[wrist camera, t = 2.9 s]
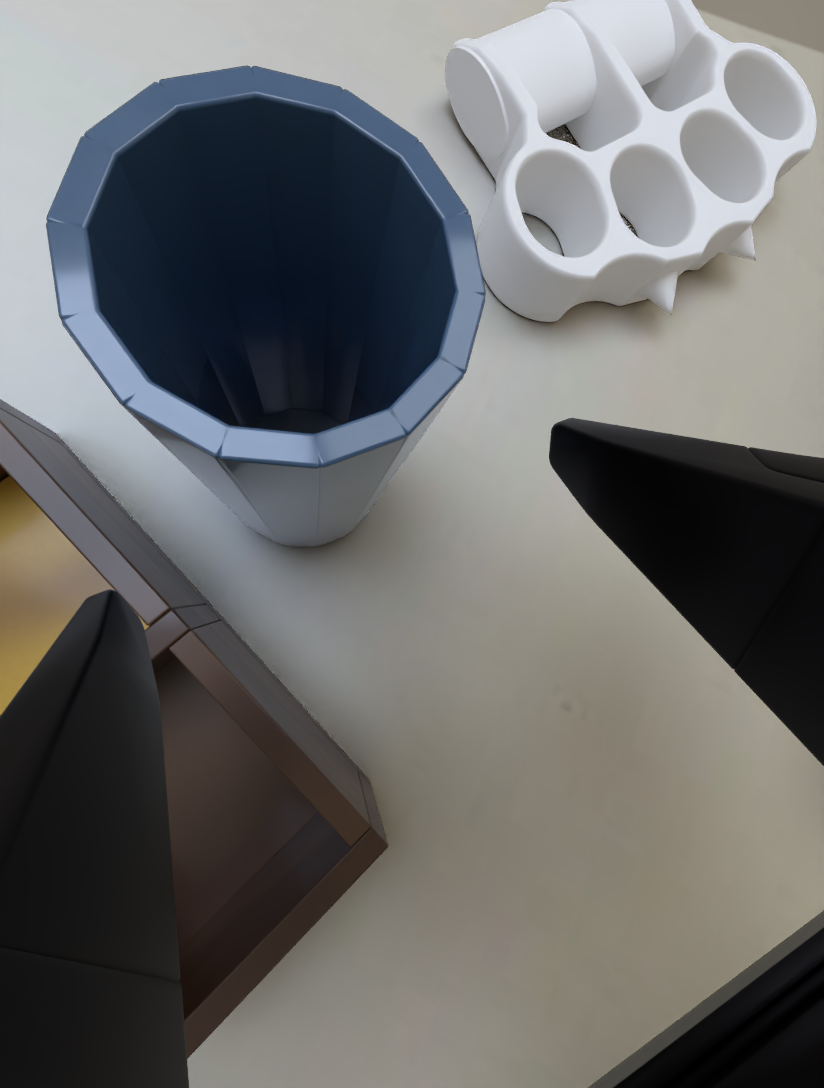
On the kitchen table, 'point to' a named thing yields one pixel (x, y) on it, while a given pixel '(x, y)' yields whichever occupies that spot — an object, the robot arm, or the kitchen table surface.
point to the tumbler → (268, 288)
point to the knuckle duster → (622, 148)
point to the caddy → (189, 728)
